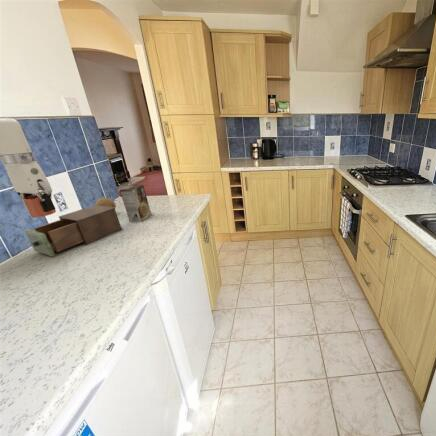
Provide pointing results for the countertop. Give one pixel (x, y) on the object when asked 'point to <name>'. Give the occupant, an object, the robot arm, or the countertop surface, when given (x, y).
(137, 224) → the countertop surface
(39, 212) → the ramekin
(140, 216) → the coffee box
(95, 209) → the cabinet
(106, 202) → the natural sponge
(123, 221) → the countertop surface
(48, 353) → the countertop surface
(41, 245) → the drawer
